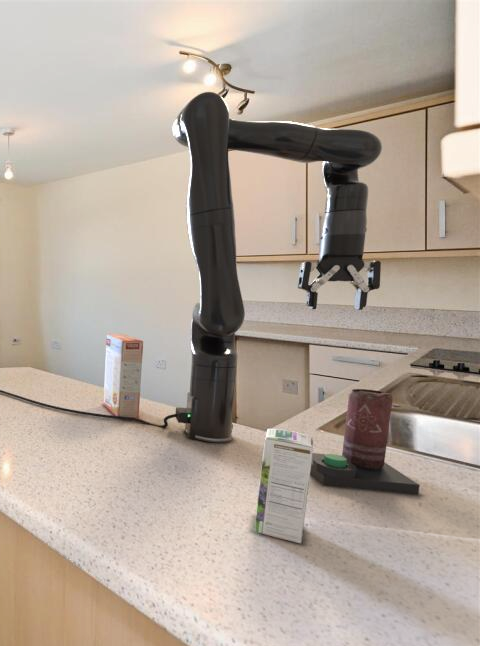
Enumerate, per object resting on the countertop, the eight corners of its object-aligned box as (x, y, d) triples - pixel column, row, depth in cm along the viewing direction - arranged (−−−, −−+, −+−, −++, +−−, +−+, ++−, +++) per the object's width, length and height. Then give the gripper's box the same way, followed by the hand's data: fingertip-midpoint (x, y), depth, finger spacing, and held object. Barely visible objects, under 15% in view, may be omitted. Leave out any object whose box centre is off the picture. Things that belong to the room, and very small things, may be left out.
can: (393, 471, 85) (403, 396, 83) (353, 469, 86) (362, 395, 84) (371, 459, 91) (380, 388, 89) (334, 456, 92) (342, 387, 90)
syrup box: (256, 516, 73) (264, 426, 71) (303, 527, 70) (312, 434, 68) (254, 532, 68) (262, 437, 66) (303, 545, 65) (314, 445, 63)
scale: (320, 486, 83) (322, 467, 83) (293, 460, 95) (294, 443, 95) (420, 496, 79) (423, 477, 79) (378, 468, 91) (380, 450, 91)
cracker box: (140, 419, 123) (144, 340, 120) (117, 419, 123) (120, 340, 120) (123, 404, 136) (126, 333, 134) (102, 404, 136) (105, 333, 134)
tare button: (328, 467, 84) (329, 459, 83) (320, 460, 87) (321, 452, 86) (349, 469, 83) (350, 461, 83) (340, 462, 86) (341, 454, 86)
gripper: (373, 234, 102) (364, 308, 104) (297, 236, 106) (291, 307, 108) (393, 231, 94) (383, 311, 97) (311, 233, 98) (304, 310, 101)
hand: (334, 309), depth 102 cm, fingers open, 8 cm apart
